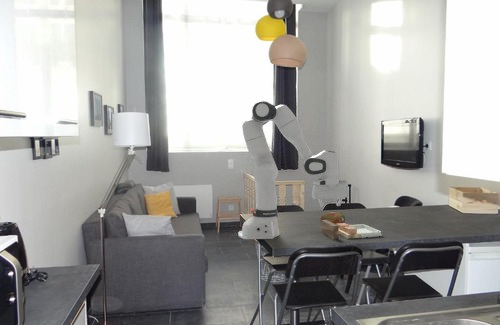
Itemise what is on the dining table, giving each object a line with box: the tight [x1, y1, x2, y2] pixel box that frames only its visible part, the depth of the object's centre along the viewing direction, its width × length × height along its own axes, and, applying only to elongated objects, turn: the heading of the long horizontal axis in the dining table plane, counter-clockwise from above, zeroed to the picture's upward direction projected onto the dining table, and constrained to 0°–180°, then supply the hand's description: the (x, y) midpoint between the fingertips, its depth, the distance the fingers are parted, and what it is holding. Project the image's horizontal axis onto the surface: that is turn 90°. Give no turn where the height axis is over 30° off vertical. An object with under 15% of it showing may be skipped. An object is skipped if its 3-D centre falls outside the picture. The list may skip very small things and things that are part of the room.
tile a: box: [336, 222, 350, 230], centre depth 197 cm, size 5×5×2 cm
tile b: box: [344, 226, 357, 234], centre depth 189 cm, size 5×5×2 cm
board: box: [338, 229, 362, 240], centre depth 193 cm, size 8×16×2 cm, turn 14°
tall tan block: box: [320, 220, 339, 240], centre depth 190 cm, size 3×14×7 cm, turn 14°
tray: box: [348, 223, 383, 239], centre depth 195 cm, size 12×18×2 cm, turn 14°
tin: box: [319, 211, 346, 224], centre depth 210 cm, size 15×3×8 cm, turn 101°
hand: (330, 206), depth 190 cm, fingers open, 8 cm apart
